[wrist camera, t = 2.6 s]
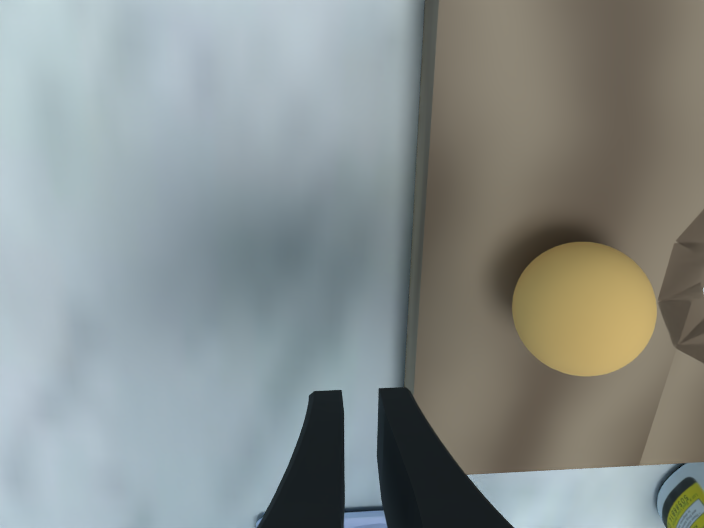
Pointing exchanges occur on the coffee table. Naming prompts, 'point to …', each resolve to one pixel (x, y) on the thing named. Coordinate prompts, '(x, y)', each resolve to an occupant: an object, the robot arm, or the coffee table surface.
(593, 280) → the ball
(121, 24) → the coffee table surface
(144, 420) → the coffee table surface
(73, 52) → the coffee table surface
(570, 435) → the wooden board with hole
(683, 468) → the supplement bottle
